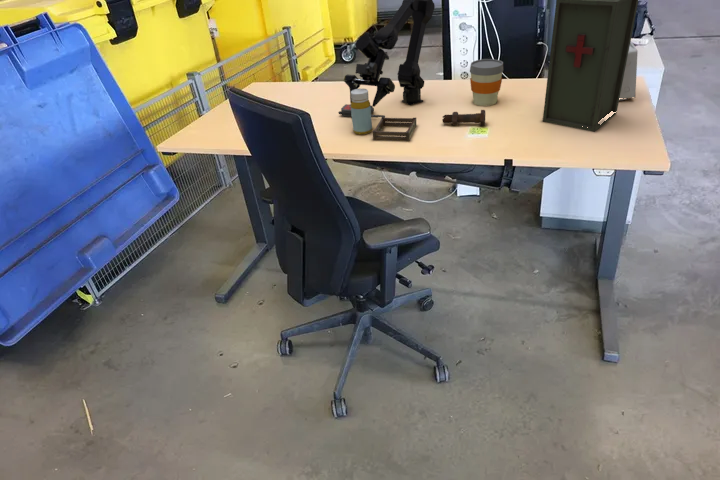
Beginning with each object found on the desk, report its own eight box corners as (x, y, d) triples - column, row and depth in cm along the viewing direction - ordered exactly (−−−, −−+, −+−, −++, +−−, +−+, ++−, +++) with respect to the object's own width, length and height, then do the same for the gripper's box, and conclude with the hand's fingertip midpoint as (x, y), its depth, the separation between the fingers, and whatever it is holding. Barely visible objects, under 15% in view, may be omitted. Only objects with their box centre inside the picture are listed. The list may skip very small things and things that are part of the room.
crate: (382, 125, 194) (381, 117, 192) (416, 125, 190) (416, 117, 188) (373, 140, 183) (372, 131, 181) (409, 141, 179) (408, 132, 177)
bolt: (443, 128, 191) (485, 127, 187) (441, 126, 186) (484, 125, 182) (443, 112, 190) (485, 110, 186) (442, 109, 185) (485, 108, 181)
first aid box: (616, 114, 183) (640, -10, 161) (594, 131, 172) (617, 1, 150) (565, 105, 194) (581, -12, 172) (542, 121, 183) (556, -1, 161)
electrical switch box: (583, 95, 207) (583, 45, 196) (624, 88, 203) (625, 36, 193) (592, 108, 195) (592, 55, 184) (635, 101, 191) (637, 46, 181)
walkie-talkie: (336, 118, 204) (384, 121, 197) (335, 107, 201) (383, 109, 194) (344, 110, 210) (391, 112, 204) (343, 99, 208) (390, 101, 201)
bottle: (362, 136, 186) (358, 95, 178) (349, 132, 191) (345, 92, 182) (376, 130, 190) (373, 90, 181) (363, 126, 194) (359, 86, 186)
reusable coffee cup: (499, 108, 198) (502, 68, 190) (466, 107, 202) (467, 68, 193) (502, 96, 208) (505, 58, 199) (471, 96, 211) (472, 58, 203)
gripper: (343, 51, 184) (330, 92, 183) (389, 54, 176) (375, 97, 174) (356, 67, 194) (344, 106, 193) (400, 71, 185) (388, 111, 184)
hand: (362, 105), depth 186 cm, fingers open, 9 cm apart
